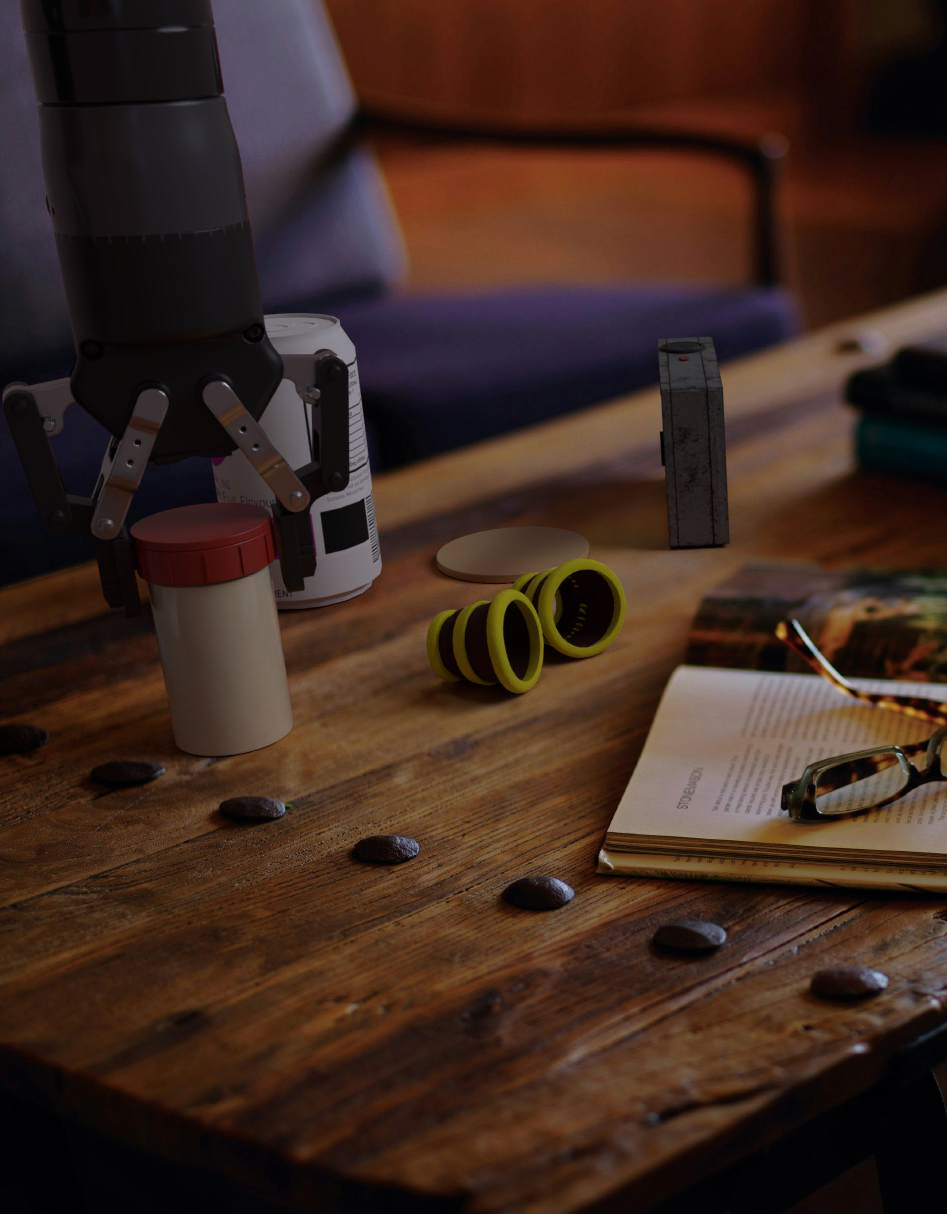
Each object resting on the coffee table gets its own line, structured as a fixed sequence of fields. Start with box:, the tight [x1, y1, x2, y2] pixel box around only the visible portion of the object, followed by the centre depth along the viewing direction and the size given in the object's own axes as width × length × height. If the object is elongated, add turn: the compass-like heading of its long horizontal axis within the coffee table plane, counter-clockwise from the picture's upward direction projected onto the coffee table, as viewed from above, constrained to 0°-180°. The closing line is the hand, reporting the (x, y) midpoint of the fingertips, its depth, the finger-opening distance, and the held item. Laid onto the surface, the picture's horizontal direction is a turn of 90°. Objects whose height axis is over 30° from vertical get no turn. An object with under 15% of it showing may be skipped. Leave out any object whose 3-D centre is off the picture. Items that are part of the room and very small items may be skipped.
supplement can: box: [210, 312, 383, 610], centre depth 90 cm, size 8×8×15 cm
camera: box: [657, 336, 731, 548], centre depth 104 cm, size 16×4×10 cm, turn 6°
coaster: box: [435, 526, 591, 584], centre depth 97 cm, size 9×9×1 cm
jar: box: [146, 564, 295, 757], centre depth 73 cm, size 5×5×10 cm
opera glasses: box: [426, 558, 627, 694], centre depth 80 cm, size 10×5×5 cm, turn 148°
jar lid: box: [129, 502, 278, 585], centre depth 71 cm, size 6×6×2 cm
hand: (215, 598), depth 72 cm, fingers open, 6 cm apart
